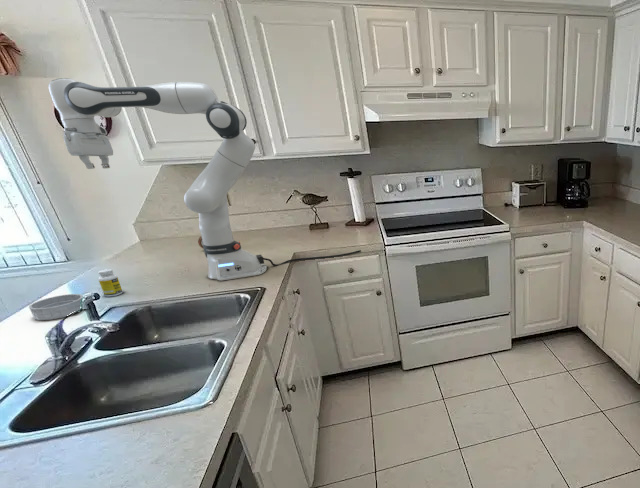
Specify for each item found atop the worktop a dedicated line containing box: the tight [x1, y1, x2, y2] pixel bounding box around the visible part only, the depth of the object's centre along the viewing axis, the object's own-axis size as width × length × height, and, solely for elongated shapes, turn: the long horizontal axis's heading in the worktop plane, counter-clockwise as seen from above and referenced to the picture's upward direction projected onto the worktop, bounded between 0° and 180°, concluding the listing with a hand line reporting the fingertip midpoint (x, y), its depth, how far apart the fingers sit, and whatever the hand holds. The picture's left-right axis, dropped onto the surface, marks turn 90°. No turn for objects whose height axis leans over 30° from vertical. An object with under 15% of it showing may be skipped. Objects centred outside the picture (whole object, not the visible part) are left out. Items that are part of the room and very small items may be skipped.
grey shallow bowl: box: [28, 293, 84, 321], centre depth 143 cm, size 13×13×4 cm
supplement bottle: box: [97, 268, 124, 298], centre depth 158 cm, size 5×5×10 cm
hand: (99, 168), depth 154 cm, fingers open, 8 cm apart
